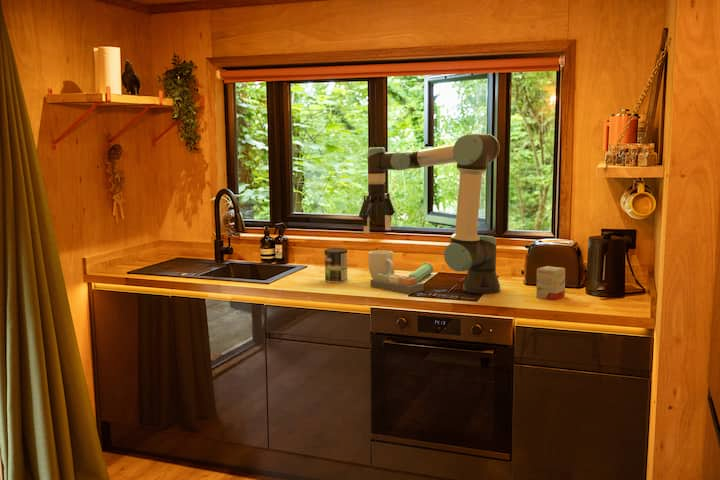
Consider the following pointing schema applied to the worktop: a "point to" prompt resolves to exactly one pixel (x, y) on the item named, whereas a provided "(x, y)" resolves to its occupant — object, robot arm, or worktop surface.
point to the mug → (380, 262)
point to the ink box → (550, 282)
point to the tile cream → (395, 278)
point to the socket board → (397, 286)
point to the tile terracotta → (408, 281)
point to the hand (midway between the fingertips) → (377, 231)
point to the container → (422, 271)
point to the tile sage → (383, 276)
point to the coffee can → (336, 265)
